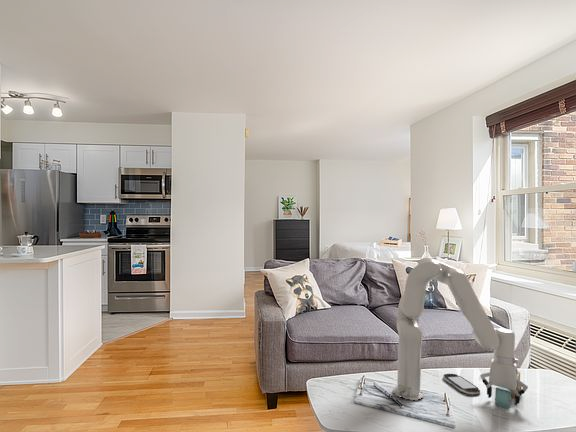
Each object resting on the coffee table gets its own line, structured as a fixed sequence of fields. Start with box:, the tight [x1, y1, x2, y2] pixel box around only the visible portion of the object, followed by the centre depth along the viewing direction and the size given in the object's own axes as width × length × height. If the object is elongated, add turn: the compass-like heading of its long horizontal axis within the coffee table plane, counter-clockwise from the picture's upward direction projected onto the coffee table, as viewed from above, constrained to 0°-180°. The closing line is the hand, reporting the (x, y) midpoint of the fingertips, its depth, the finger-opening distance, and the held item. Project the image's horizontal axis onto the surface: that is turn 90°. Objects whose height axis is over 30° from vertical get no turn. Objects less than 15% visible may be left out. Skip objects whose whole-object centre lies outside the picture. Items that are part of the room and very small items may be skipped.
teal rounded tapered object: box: [494, 386, 512, 409], centre depth 156 cm, size 6×6×6 cm
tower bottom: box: [508, 385, 523, 400], centre depth 165 cm, size 7×7×5 cm
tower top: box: [517, 371, 521, 388], centre depth 165 cm, size 6×6×5 cm
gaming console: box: [442, 373, 481, 396], centre depth 173 cm, size 19×9×3 cm, turn 10°
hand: (502, 400), depth 156 cm, fingers open, 9 cm apart
